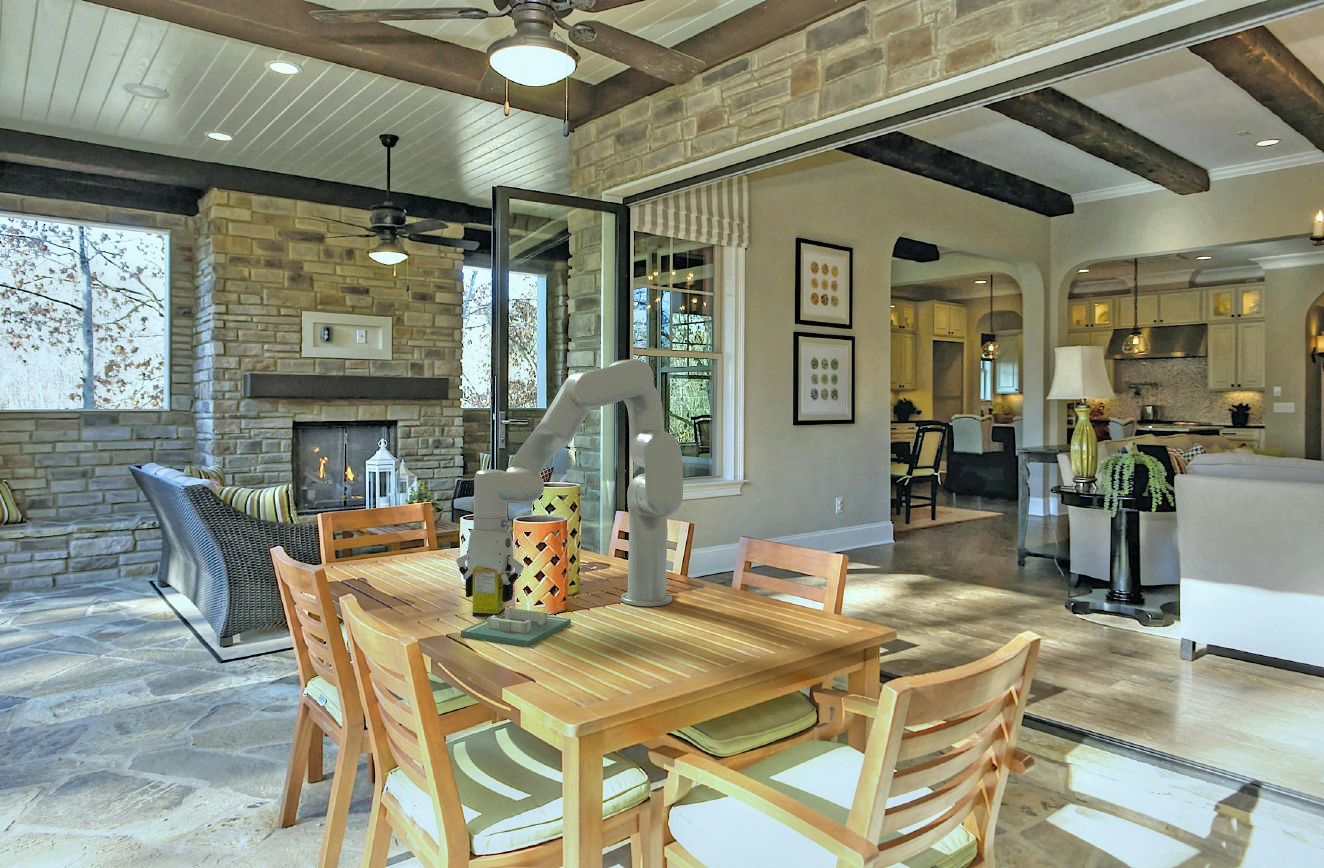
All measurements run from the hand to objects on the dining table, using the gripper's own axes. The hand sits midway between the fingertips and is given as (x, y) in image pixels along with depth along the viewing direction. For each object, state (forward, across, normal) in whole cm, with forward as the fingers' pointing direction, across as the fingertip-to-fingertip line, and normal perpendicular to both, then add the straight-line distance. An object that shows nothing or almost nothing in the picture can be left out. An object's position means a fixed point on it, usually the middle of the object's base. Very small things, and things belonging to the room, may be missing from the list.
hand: (488, 598), depth 183 cm
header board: (+3, -13, +9) cm, 16 cm away
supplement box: (+4, 0, 0) cm, 4 cm away
